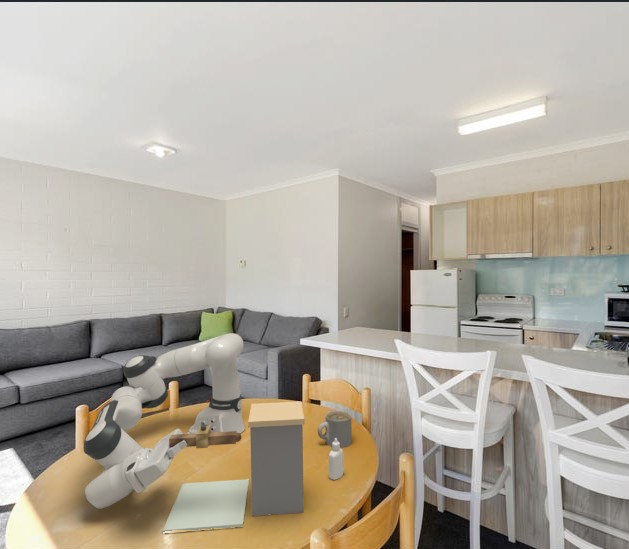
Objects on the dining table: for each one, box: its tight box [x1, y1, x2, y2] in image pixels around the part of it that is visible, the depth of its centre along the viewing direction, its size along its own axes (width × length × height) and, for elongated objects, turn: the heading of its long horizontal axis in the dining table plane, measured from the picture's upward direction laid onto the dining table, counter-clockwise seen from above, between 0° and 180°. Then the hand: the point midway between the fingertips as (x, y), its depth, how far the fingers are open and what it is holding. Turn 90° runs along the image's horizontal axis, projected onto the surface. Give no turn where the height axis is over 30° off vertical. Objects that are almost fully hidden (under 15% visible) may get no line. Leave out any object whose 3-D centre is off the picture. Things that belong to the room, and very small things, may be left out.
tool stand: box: [247, 400, 305, 517], centre depth 105 cm, size 15×13×26 cm
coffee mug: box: [317, 410, 353, 449], centre depth 140 cm, size 13×10×10 cm
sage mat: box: [162, 478, 250, 533], centre depth 103 cm, size 20×20×1 cm
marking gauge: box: [169, 424, 242, 449], centre depth 103 cm, size 20×5×5 cm, turn 96°
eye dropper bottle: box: [328, 438, 345, 481], centre depth 117 cm, size 4×6×12 cm
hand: (188, 438), depth 102 cm, fingers closed on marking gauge, 2 cm apart
